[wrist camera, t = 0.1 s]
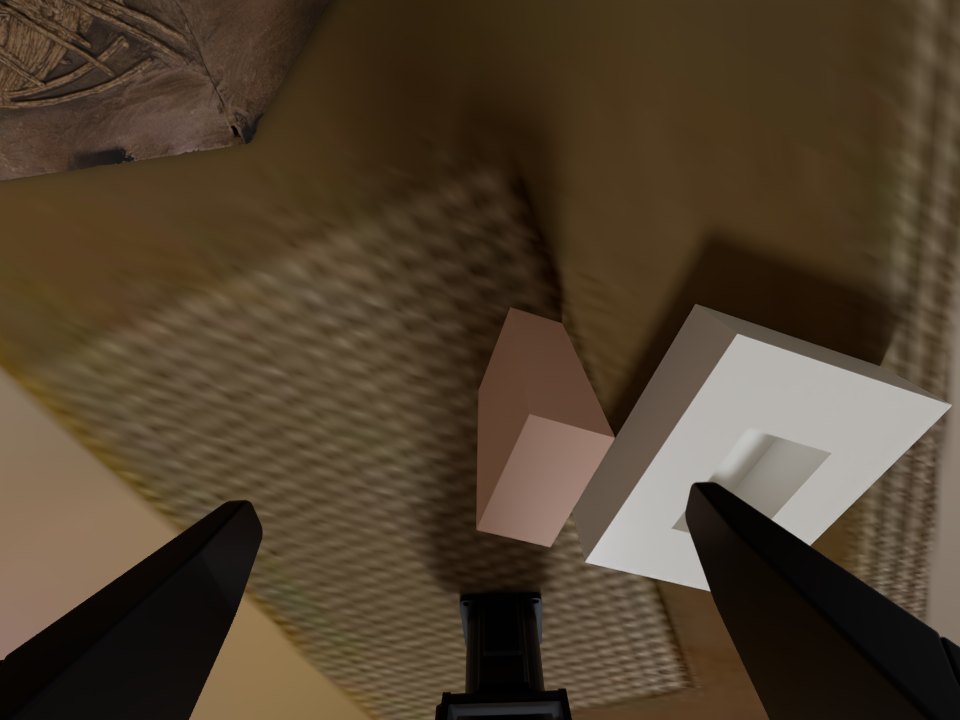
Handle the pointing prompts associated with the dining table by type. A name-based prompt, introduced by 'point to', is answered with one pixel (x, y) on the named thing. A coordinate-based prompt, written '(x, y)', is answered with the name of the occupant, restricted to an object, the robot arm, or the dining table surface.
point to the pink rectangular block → (535, 431)
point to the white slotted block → (744, 442)
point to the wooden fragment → (138, 77)
